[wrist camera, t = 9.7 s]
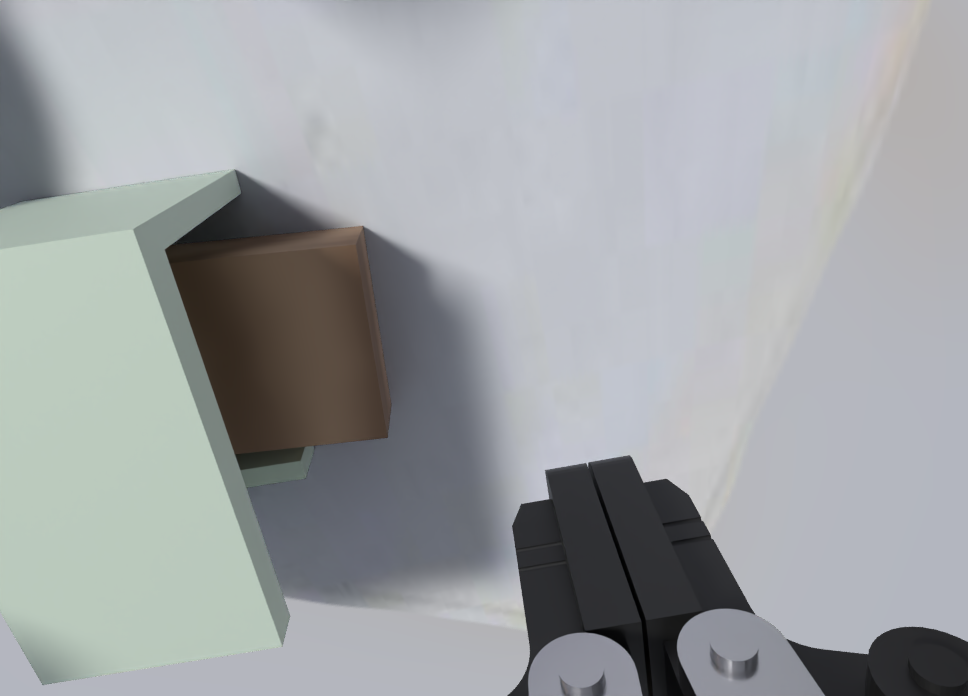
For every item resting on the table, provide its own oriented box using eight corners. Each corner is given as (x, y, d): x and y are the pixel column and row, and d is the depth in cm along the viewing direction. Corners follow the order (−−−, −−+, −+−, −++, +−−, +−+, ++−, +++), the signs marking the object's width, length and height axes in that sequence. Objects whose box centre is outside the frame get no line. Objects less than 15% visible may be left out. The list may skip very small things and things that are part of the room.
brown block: (363, 224, 30) (355, 244, 27) (391, 400, 33) (387, 437, 30) (91, 250, 29) (49, 275, 26) (149, 426, 33) (119, 466, 30)
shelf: (234, 169, 28) (132, 229, 18) (323, 482, 35) (282, 646, 25) (21, 201, 28) (-194, 278, 18) (150, 509, 34) (42, 685, 25)
